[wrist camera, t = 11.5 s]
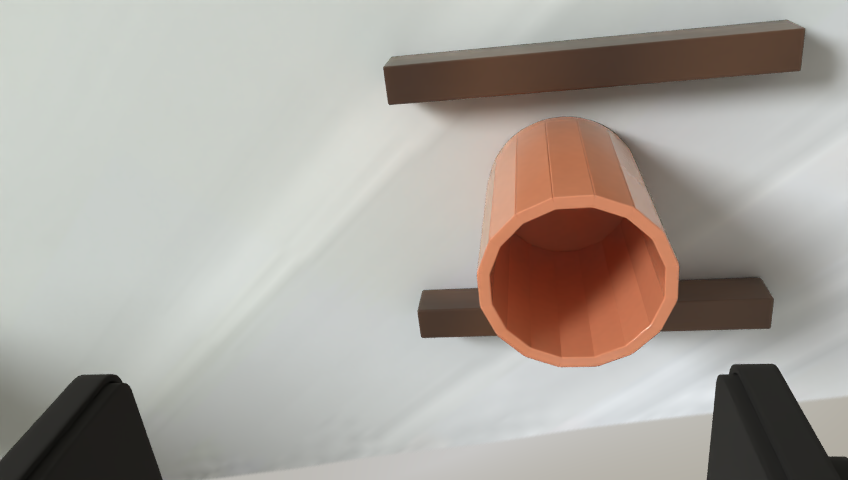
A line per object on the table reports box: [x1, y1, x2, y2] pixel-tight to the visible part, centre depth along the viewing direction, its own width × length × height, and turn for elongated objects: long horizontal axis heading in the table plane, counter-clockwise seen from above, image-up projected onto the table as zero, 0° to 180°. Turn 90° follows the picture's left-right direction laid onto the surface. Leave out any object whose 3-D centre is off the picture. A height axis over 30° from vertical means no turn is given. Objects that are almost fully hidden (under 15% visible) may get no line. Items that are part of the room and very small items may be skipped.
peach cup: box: [477, 117, 679, 367], centre depth 28 cm, size 7×7×9 cm
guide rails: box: [383, 20, 805, 338], centre depth 31 cm, size 16×13×2 cm
